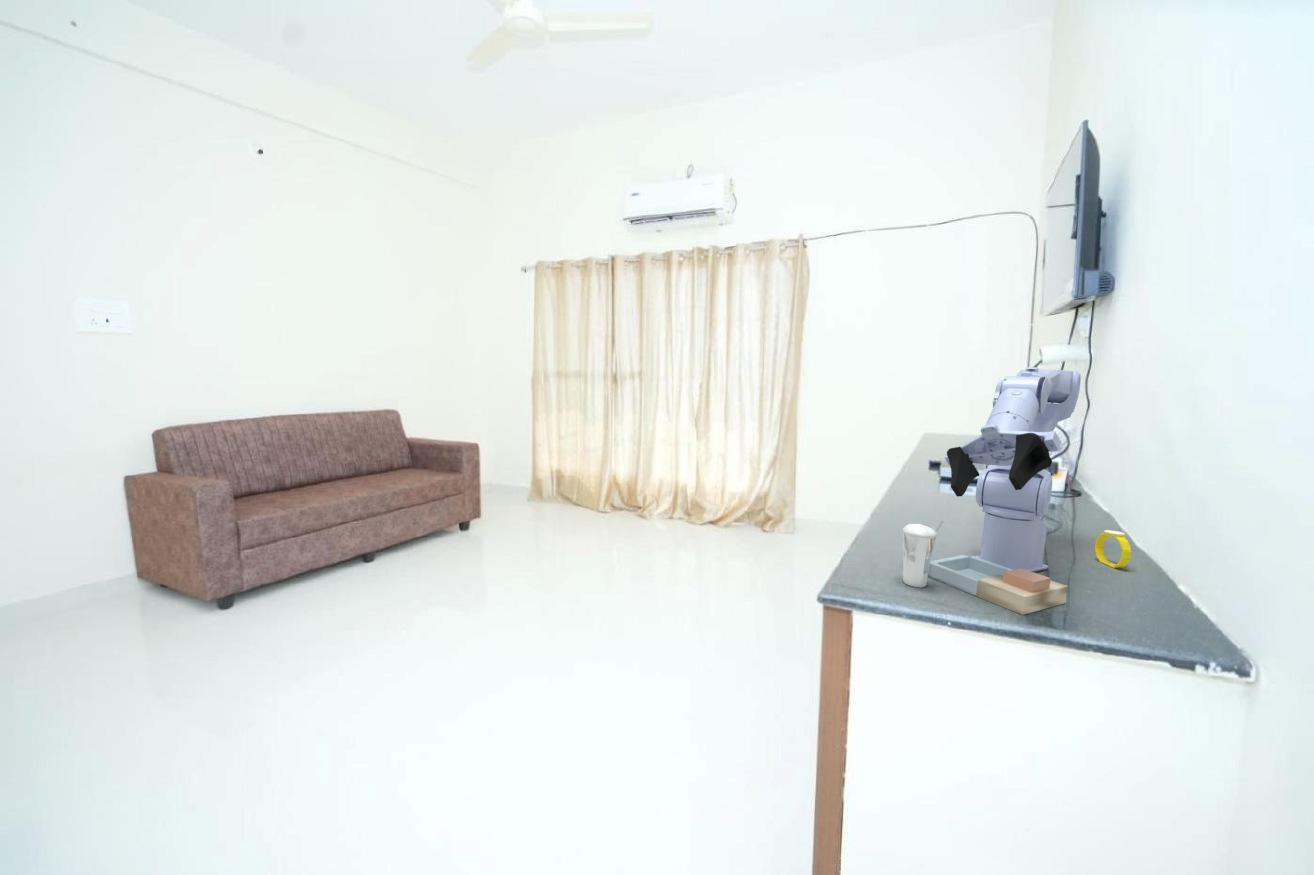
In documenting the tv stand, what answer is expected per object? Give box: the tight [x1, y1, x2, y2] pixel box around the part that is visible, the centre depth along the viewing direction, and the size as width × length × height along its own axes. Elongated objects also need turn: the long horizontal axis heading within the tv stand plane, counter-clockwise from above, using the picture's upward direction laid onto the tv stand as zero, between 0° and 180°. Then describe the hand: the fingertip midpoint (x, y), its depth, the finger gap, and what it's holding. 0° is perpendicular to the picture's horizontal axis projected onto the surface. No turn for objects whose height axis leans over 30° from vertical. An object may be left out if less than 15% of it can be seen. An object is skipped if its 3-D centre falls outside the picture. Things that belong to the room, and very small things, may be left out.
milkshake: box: [902, 520, 944, 588], centre depth 82 cm, size 5×5×10 cm
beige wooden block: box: [975, 574, 1069, 616], centre depth 78 cm, size 10×6×2 cm, turn 116°
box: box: [927, 554, 1012, 597], centre depth 84 cm, size 10×8×2 cm
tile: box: [1003, 568, 1052, 593], centre depth 76 cm, size 4×4×2 cm
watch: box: [1094, 529, 1132, 569], centre depth 93 cm, size 6×3×6 cm, turn 0°
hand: (984, 487), depth 74 cm, fingers open, 7 cm apart
